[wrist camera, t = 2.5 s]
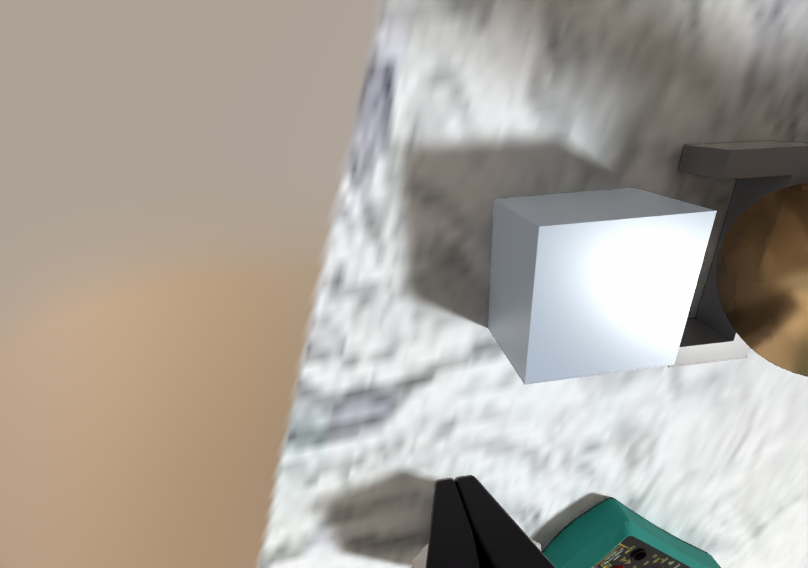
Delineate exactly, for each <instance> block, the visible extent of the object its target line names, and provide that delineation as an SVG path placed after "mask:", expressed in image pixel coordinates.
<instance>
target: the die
mask: <svg viewBox="0 0 808 568" xmlns="http://www.w3.org/2000/svg"><path fill="white" fill-rule="evenodd" d="M531 540H532V539H531ZM532 542H533V543H534V544H535V545H536V546H537V547H538V548H539V549H540V551H541V544H540V543H538V542H536V541H534V540H532ZM427 550H428V544H427V545H426V546H425V547H424V548H423V549H422V550H421V551H420V552H419V553H418V554H417V556H416V557H415V558H414V559H413V560H412V568H426V559H427Z"/></svg>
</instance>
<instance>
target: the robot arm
mask: <svg viewBox="0 0 808 568" xmlns="http://www.w3.org/2000/svg"><path fill="white" fill-rule="evenodd" d="M426 568H556V567H555V566H554V565H553V564H552V563H551V562H550V561H549V560H548V558H547V557H546V556H545V555H544V554H543V553H542V552H541V551H540V549H539V548H538V547H537V546H536V545H535V544H534V543H533V542H532V540H531V539H530V538H529V537H528V536H527V535H526V534H525V533H524V531H523V530H522V529H521V528H520V527H519V526H518V525H517V524H516V522H515V521H514V520H513V519H512V518H511V517H510V516H509V515H508V513H507V512H506V511H505V510H504V509H503V508H502V507H501V506H500V504H499V503H498V502H497V501H496V500H495V499H494V498H493V497H492V496H491V494H490V493H489V492H488V491H487V490H486V489H485V488H484V487H483V485H482V484H481V483H480V482H479V481H478V480H477V479H476V478H475V477H474V476H472V475H466V476H460V477H456V478H455V480H454V479H453V478H446V479H439V480H436V482H435V487H434V496H433V505H432V514H431V523H430V532H429V541H428V550H427V559H426Z"/></svg>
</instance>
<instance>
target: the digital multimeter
mask: <svg viewBox="0 0 808 568" xmlns="http://www.w3.org/2000/svg"><path fill="white" fill-rule="evenodd" d="M640 540H641V541H640ZM642 541H643V542H642ZM644 542H645V543H644ZM651 546H652V547H651ZM653 547H654V548H653ZM655 548H656V549H655ZM657 549H658V550H657ZM662 552H663V553H662ZM664 553H665V554H664ZM543 554H544V555H545V556H546V557H547V558H548V560H549V561H550V562H551V563H552V564H553V565H554V566H555V567H556V568H690V567H691V568H721V567H720V566H719V565H718V564H717V562H716V561H715V560H714V559H713V557H712V556H711V555H709V554H707V553H705V552H703V551H701V550H699V549H697V548H695V547H693V546H691V545H689V544H686V543H684V542H683V541H681V540H679V539H677V538H675V537H673V536H672V535H670V534H668V533H666V532H664V531H663V530H661V529H659V528H658V527H656V526H655V525H653V524H651V523H650V522H648V521H647V520H645V519H644V518H642V517H641V516H639V515H637V514H636V513H634V512H633V511H632V510H630V509H629V508H627V507H626V506H624V505H623V504H621V503H620V502H619V501H617V500H616V499H612V498H610V499H607V500H605V501H603V502H602V503H600V504H598V505H597V506H595V507H593V508H592V509H591V510H589V511H588V512H586V513H585V514H583V515H582V516H580V517H579V518H578V519H576V520H575V521H574V522H572V523H571V524H570V525H569V526H568V527H566V528H565V529H564V530H563V531H562V532H561V533H560V534H559V535H558V536H557V537H556V538H555V539H554V540H553V541H552V542H551V543H550V544H549V545H548V547H547V548H546V549H545V550H544V552H543ZM666 554H667V555H666ZM668 555H669V556H668ZM673 558H674V559H673ZM675 559H676V560H675ZM677 560H678V561H677ZM679 561H680V562H679ZM684 564H685V565H684ZM686 565H687V566H686ZM688 566H689V567H688Z"/></svg>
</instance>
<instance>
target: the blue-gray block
mask: <svg viewBox="0 0 808 568" xmlns="http://www.w3.org/2000/svg"><path fill="white" fill-rule="evenodd" d="M716 212H717V211H716V210H713V209H709V208H705V207H702V206H698V205H694V204H691V203H687V202H684V201H680V200H676V199H673V198H669V197H666V196H662V195H658V194H655V193H651V192H648V191H644V190H640V189H637V188H633V187H631V188H619V189H607V190H594V191H582V192H570V193H557V194H545V195H533V196H520V197H508V198H496V199H493V222H492V245H491V268H490V292H489V315H488V329H489V331H490V332H491V334H492V335H493V337H494V338H495V340H496V341H497V343H498V344H499V346H500V347H501V349H502V351H503V352H504V354H505V355H506V357H507V358H508V360H509V361H510V363H511V364H512V366H513V367H514V369H515V370H516V372H517V374H518V375H519V377H520V378H521V380H522V381H523V383H524V384H532V383H540V382H548V381H555V380H563V379H570V378H578V377H585V376H593V375H600V374H608V373H616V372H623V371H631V370H638V369H646V368H653V367H661V366H669V365H674V364H675V361H676V357H677V353H678V350H679V346H680V342H681V339H682V335H683V332H684V328H685V324H686V321H687V317H688V313H689V310H690V306H691V303H692V299H693V295H694V292H695V288H696V285H697V281H698V277H699V274H700V270H701V266H702V263H703V259H704V256H705V252H706V248H707V245H708V241H709V237H710V234H711V230H712V227H713V223H714V219H715V216H716Z"/></svg>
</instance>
